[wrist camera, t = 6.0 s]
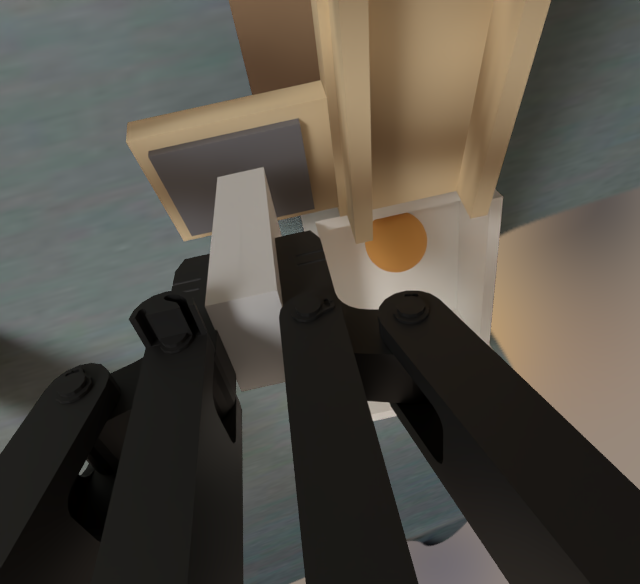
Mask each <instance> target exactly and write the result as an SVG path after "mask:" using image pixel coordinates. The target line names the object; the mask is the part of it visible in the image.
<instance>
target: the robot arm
mask: <svg viewBox="0 0 640 584" xmlns="http://www.w3.org/2000/svg"><path fill="white" fill-rule="evenodd" d="M129 320H130V322H131V324H132V325H133V327H134V329H135V330H136V332H137V334H138V336H139V337H140V339H141V341H142V342H143V344H144V346H145V347H146V349H145V353H144V357H143V358H141V359H140V360H138V361H136V362H134V363H132V364H130V365H128V366H126V367H124V368H121V369H119V370H117V371H115V372H113V373H111V374H110V373H109V371H108V370H107V369H106V368H105V367H104V366H102V365H101V364H94V363H89V364H84V365H79V366H77V367H75V368H72V369H70V370H68V371H66V372H65V373H63V374H62V375H60V376H59V377H58V378H56V379H55V380H54V381H53V382H52V383H51V384H50V385H49V386H48V388H47V389H46V390H45V391H44V393H43V394H42V396H41V397H40V398H39V400H38V401H37V403H36V404H35V406H34V407H33V408H32V410H31V411H30V413H29V414H28V416H27V417H26V418H25V420H24V421H23V423H22V424H21V425H20V427H19V428H18V430H17V431H16V433H15V434H14V435H13V437H12V438H11V440H10V441H9V443H8V444H7V445H6V447H5V448H4V450H3V451H2V453H1V454H0V584H243V480H242V409H241V405H240V402H239V400H238V397H237V395H236V380H237V382H238V384H239V386H240V389H241V391H247V390H251V389H256V388H260V387H265V386H269V385H274V384H278V383H282V382H285V383H286V393H287V402H288V412H289V422H290V432H291V442H292V452H293V461H294V471H295V481H296V491H297V501H298V510H299V520H300V530H301V540H302V550H303V560H304V569H305V579H306V584H418V581H417V577H416V574H415V570H414V566H413V563H412V559H411V556H410V552H409V549H408V545H407V541H406V538H405V534H404V530H403V527H402V523H401V520H400V516H399V513H398V509H397V505H396V502H395V498H394V495H393V491H392V487H391V484H390V480H389V477H388V473H387V470H386V466H385V462H384V459H383V455H382V452H381V448H380V445H379V441H378V437H377V434H376V430H375V427H374V423H373V419H372V416H371V412H370V409H369V405H368V402H367V401H374V402H389V403H390V406H391V408H392V409H393V411H394V412H395V414H396V415H397V417H398V418H399V420H400V421H401V422H402V424H403V425H404V427H405V428H406V430H407V431H408V433H409V434H410V436H411V437H412V439H413V440H414V442H415V443H416V445H417V446H418V448H419V449H420V451H421V452H422V454H423V455H424V457H425V458H426V460H427V461H428V463H429V464H430V466H431V467H432V469H433V470H434V472H435V473H436V475H437V476H438V478H439V479H440V481H441V482H442V484H443V485H444V487H445V488H446V490H447V491H448V493H449V494H450V496H451V497H452V499H453V500H454V502H455V503H456V505H457V506H458V508H459V509H460V511H461V512H462V514H463V515H464V517H465V518H466V520H467V521H468V523H469V524H470V526H471V527H472V529H473V530H474V532H475V533H476V534H477V536H478V537H479V539H480V540H481V542H482V543H483V545H484V546H485V548H486V549H487V551H488V552H489V554H490V555H491V557H492V558H493V560H494V561H495V563H496V564H497V566H498V567H499V569H500V570H501V572H502V573H503V575H504V576H505V578H506V579H507V581H508V582H509V584H640V490H639V489H638V488H637V487H636V486H635V485H634V484H633V483H632V482H631V481H630V480H629V479H628V478H627V477H626V476H625V475H623V474H622V473H621V472H620V471H619V470H618V469H617V468H616V467H615V466H614V465H613V464H612V463H611V462H610V461H609V460H608V459H607V458H606V457H604V456H603V454H601V453H600V452H599V451H598V450H597V449H596V448H595V447H594V446H593V445H592V444H591V443H590V442H589V441H588V440H587V439H586V438H584V437H583V435H581V433H579V432H578V431H577V430H576V429H575V428H574V427H573V426H572V425H571V424H570V423H569V422H568V421H567V420H566V419H565V418H563V416H562V415H561V414H560V413H558V412H557V411H556V410H555V409H554V408H553V407H552V406H551V405H550V404H549V403H548V402H547V401H546V400H545V399H544V398H543V397H542V396H541V395H539V394H538V392H537V391H535V390H534V389H533V388H532V387H531V386H530V385H529V384H528V383H527V382H526V381H525V380H524V379H523V378H522V377H521V376H520V375H519V374H518V373H517V372H516V371H515V370H513V369H512V368H511V367H510V366H509V365H508V364H507V363H506V362H505V361H504V360H503V359H502V358H501V357H500V356H499V355H498V354H497V353H496V352H495V351H494V350H493V349H491V348H490V347H489V346H488V345H487V344H486V343H485V342H484V341H483V340H482V339H481V338H480V337H479V336H478V335H477V334H476V333H475V332H474V331H473V330H472V329H470V328H469V327H468V326H467V325H466V324H465V323H464V322H463V321H462V320H461V319H460V318H459V317H458V316H457V315H456V314H455V313H454V312H453V311H452V310H451V309H450V308H448V307H447V306H446V305H445V304H444V303H443V302H442V301H441V300H440V299H439V298H437V297H435V296H434V295H432V294H431V293H427V292H423V291H403V292H399V293H395V294H393V295H391V296H390V297H388V298H386V299H385V300H384V301H383V302H382V304H381V305H380V306H379V309H358V308H354V307H351V306H348V305H347V304H345V303H343V302H342V301H341V300H340V299H339V298H338V297H337V295H336V293H335V290H334V286H333V282H332V279H331V275H330V272H329V268H328V265H327V261H326V257H325V254H324V251H323V247H322V243H321V239H320V238H319V237H318V236H317V235H316V234H314V233H313V232H312V231H311V230H308V231H304V232H299V233H295V234H290V235H286V236H281V232H280V228H279V225H278V221H277V217H276V213H275V209H274V205H273V201H272V198H271V194H270V190H269V186H268V182H267V178H266V174H265V171H264V167H261V168H257V169H252V170H248V171H243V172H239V173H234V174H230V175H225V176H220V177H217V187H216V198H215V208H214V218H213V228H212V238H211V248H210V254H207V255H202V256H198V257H193V258H189V259H185V260H184V261H183V262H182V264H181V265H180V266H179V268H178V269H177V270H176V271H175V276H174V281H173V286H172V291H168V292H164V293H161V294H158V295H155V296H153V297H151V298H149V299H147V300H146V301H144V302H142V303H141V304H140V305H139V306H138V307H137V308H136V309H135V310H134V311H133V313H132V314H131V316H130V318H129ZM86 460H87V461H88V463H89V465H88V467H87V468H86V470H85V471H84V472H83V474H82V475H79V472H80V470H81V468H82V467H83V465H84V463H85V461H86Z"/></svg>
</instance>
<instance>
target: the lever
mask: <svg viewBox="0 0 640 584" xmlns="http://www.w3.org/2000/svg"><path fill="white" fill-rule="evenodd" d="M550 2H551V0H311V6H312V15H313V23H314V31H315V40H316V48H317V56H318V65H319V73H320V80H319V81H315V82H310V83H306V84H301V85H297V86H292V87H287V88H283V89H278V90H274V91H269V92H265V93H260V94H256V95H251V96H246V97H242V98H237V99H233V100H228V101H224V102H219V103H215V104H210V105H205V106H201V107H196V108H192V109H187V110H183V111H178V112H174V113H169V114H164V115H160V116H155V117H151V118H146V119H142V120H137V121H133V122H128V124H127V137H126V143H127V144H128V146H129V148H130V149H131V151H132V153H133V155H134V156H135V158H136V160H137V161H138V163H139V165H140V167H141V168H142V170H143V172H144V173H145V175H146V177H147V179H148V180H149V182H150V184H151V185H152V187H153V189H154V191H155V192H156V194H157V196H158V197H159V199H160V201H161V203H162V204H163V206H164V208H165V209H166V211H167V213H168V215H169V216H170V218H171V220H172V221H173V223H174V225H175V227H176V228H177V230H178V232H179V233H180V235H181V237H182V239H183V240H184V241H187V240H192V239H196V238H201V237H205V236H210V235H212V228H213V218H214V208H215V198H216V187H217V177H220V176H225V175H230V174H234V173H239V172H243V171H248V170H252V169H257V168H261V167H264V171H265V174H266V178H267V182H268V186H269V190H270V194H271V198H272V201H273V205H274V209H275V213H276V217H277V220H282V219H286V218H291V217H295V216H300V215H304V214H309V213H313V212H318V211H322V210H327V209H331V208H336V207H337V208H338V211H339V214H340V217H342V216H346V215H347V216H348V220H349V223H350V226H351V229H352V233H353V236H354V239H355V243H356V244H359V243H364V242H368V241H373V212H372V210H373V209H378V208H382V207H387V206H391V205H396V204H400V203H405V202H409V201H414V200H418V199H423V198H427V197H432V196H436V195H441V194H445V193H450V192H454V191H457V193H458V195H459V197H460V199H461V201H462V203H463V205H464V207H465V209H466V211H467V213H468V215H469V217H470V219H472V218H476V217H481V216H485V215H488V211H489V208H490V205H491V201H492V198H493V194H494V191H495V188H496V184H497V181H498V178H499V174H500V171H501V167H502V164H503V161H504V157H505V154H506V151H507V147H508V144H509V141H510V137H511V134H512V130H513V127H514V124H515V120H516V117H517V114H518V110H519V107H520V103H521V100H522V97H523V93H524V90H525V87H526V83H527V80H528V77H529V73H530V70H531V66H532V63H533V60H534V56H535V53H536V50H537V46H538V43H539V39H540V36H541V33H542V29H543V26H544V23H545V19H546V16H547V13H548V9H549V6H550Z"/></svg>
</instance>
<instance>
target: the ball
mask: <svg viewBox="0 0 640 584" xmlns="http://www.w3.org/2000/svg"><path fill="white" fill-rule="evenodd" d="M365 247H366V251H367V254H368V256H369V258H370V260H371V261H372V262H373V263H374V264H375V265H376V266H377V267H379V268H380V269H382V270H385V271H388V272H403V271H406V270H409V269H411V268H413V267H414V266H415V265H417V264H418V263H419V262H420V260H421V259H422V257H423V256H424V254H425V251H426V248H427V235H426V231H425V229H424V227H423V225H422V223H421V222H420V221H419V220H418V219H417V218H416V217H415V216H413V215H411V214H410V213H403V214H398V215H394V216H389V217H385V218H380V219H376V220H374V221H373V241H368V242H365Z"/></svg>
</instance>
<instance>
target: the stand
mask: <svg viewBox="0 0 640 584" xmlns="http://www.w3.org/2000/svg"><path fill="white" fill-rule="evenodd" d="M229 3H230V7H231V11H232V15H233V19H234V23H235V27H236V31H237V35H238V39H239V43H240V47H241V51H242V55H243V59H244V63H245V67H246V71H247V75H248V79H249V83H250V87H251V91H252V95H256V94H260V93H265V92H269V91H274V90H278V89H283V88H287V87H292V86H297V85H301V84H306V83H310V82H315V81H319V80H320V73H319V65H318V56H317V48H316V40H315V31H314V23H313V15H312V6H311V0H229Z"/></svg>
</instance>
